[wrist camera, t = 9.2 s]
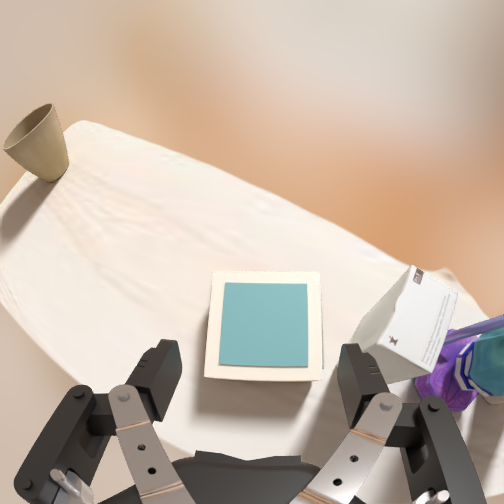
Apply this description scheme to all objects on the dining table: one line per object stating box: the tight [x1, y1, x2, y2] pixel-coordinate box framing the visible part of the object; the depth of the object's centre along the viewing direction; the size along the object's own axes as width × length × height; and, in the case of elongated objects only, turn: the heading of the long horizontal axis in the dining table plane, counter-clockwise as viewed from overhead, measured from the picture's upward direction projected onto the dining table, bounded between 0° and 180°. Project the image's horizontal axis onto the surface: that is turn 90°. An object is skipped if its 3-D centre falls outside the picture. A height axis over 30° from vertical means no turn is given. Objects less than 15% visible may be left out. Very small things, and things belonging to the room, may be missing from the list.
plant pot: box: [2, 103, 69, 182], centre depth 45 cm, size 15×15×16 cm
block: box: [204, 270, 322, 382], centre depth 31 cm, size 12×5×12 cm
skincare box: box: [336, 265, 458, 384], centre depth 25 cm, size 8×6×15 cm
